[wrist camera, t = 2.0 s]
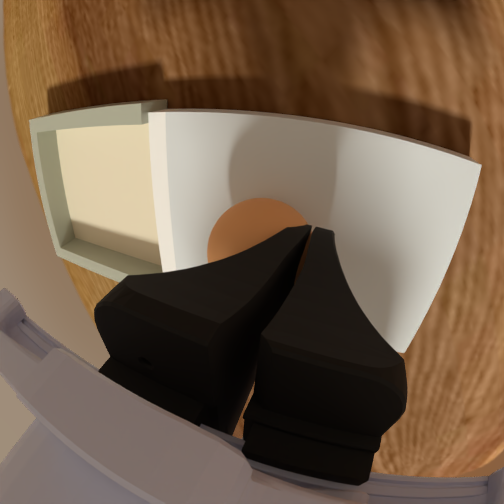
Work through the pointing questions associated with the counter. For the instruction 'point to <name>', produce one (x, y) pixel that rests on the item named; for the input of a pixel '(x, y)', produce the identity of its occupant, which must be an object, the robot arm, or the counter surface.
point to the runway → (318, 198)
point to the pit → (99, 186)
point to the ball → (252, 227)
